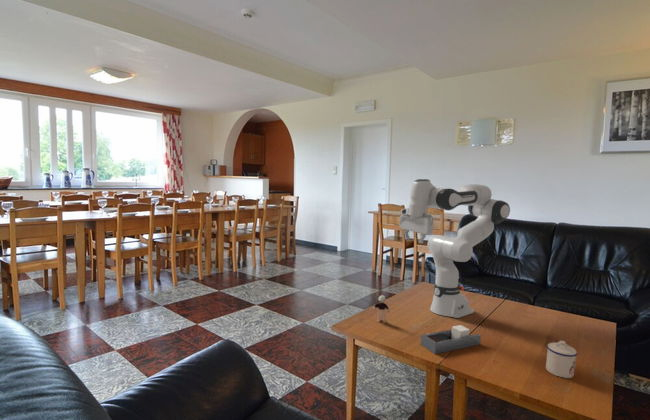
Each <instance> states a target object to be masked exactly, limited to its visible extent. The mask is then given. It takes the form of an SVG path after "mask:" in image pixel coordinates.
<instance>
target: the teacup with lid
mask: <svg viewBox="0 0 650 420" xmlns="http://www.w3.org/2000/svg"><path fill="white" fill-rule="evenodd" d="M546 347H547V351H546V352H547V353H546V363H545V369H546V370H547V372H548V373H549V374H552V375H554V376H556V377H558V376H559V378H562V377H563V378H562V379H571V378H573V377H574V376H575V370H576V369H575V368H576V367H575V366H576V359H577V355H578V352H577V349H575V348H574V347H573V346H570V345H569V344H568V343H566V341H565V340H559V341H558V342H549V343H548V344H547V346H546Z"/></svg>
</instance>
